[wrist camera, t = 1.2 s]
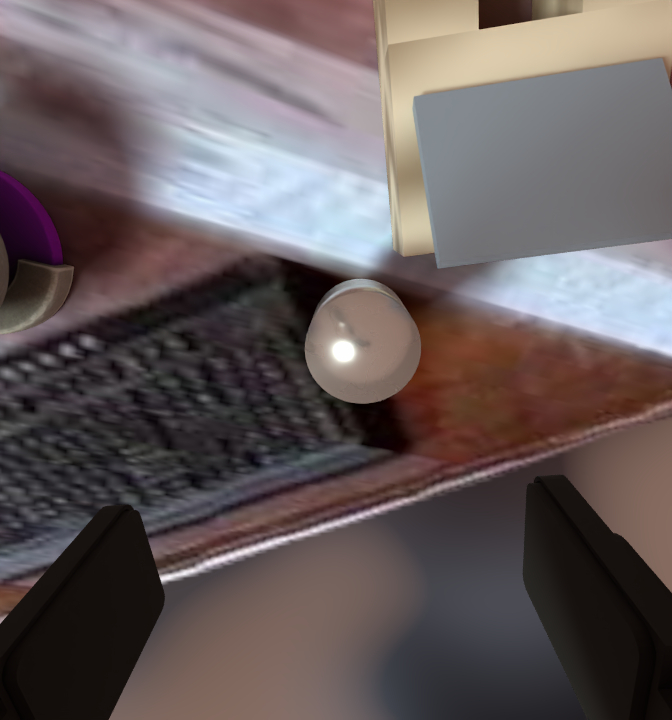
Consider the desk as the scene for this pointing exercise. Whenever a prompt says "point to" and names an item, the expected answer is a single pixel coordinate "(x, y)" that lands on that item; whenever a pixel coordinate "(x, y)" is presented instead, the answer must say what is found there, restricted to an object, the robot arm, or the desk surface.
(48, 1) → the desk surface
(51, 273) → the webcam
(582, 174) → the plate
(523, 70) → the block
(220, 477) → the desk surface
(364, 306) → the light bulb
